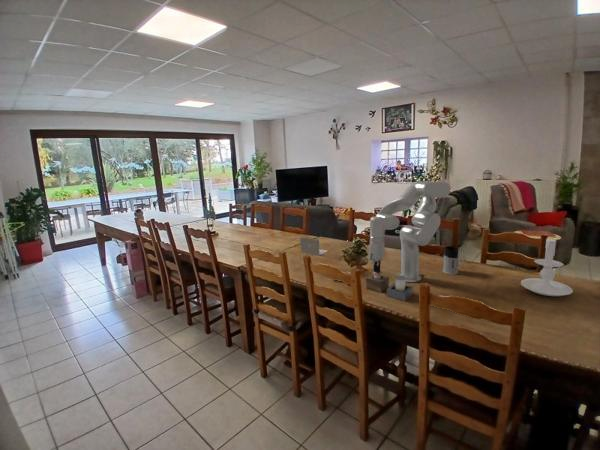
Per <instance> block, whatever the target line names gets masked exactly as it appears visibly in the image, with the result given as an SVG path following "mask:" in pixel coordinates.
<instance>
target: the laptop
mask: <svg viewBox="0 0 600 450" xmlns="http://www.w3.org/2000/svg"><path fill="white" fill-rule="evenodd" d="M299 240H300V242H299V244H300V252H301V253H302V254H303V253H304V254H309V255H313V256H322V255H323V254H326V253H328V252H329V250H325V249H320V241H319V240H320V239H319V238H311V237H304V236H299Z"/></svg>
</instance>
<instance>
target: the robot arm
mask: <svg viewBox="0 0 600 450" xmlns="http://www.w3.org/2000/svg"><path fill="white" fill-rule="evenodd" d="M451 190H452V189H451V185H450V184H449V183H448V182H446V181H445V182H444V181H432V180H430V181H429V180H428V181H419V180H416V181H414V182H412V183H410V184H409V186H408V187H407V188H406V189H405V190H404V192H403V193H402V194H401V195H400V196H399V197H398V198H396V199H395V200H393V201H391V202H388V204H386V205H384V206H383V207H382V208H381V209H380V210H379V211H378V213H377V214H376V215H375V216H374V215H373V216H371V217H370V219H369V246H368V258H367V259H368V261H371V262H370V264H372V265H373V272H378V273H379V272H380V271H381V265H382V264H381V263H382V260H383V258H384V257H385V231H386V230H389V231H390V230H396V229H397V228H398V227H400V219H399V217H397V216H396V215H394V214H396V213H400V212H405V211H407V210H410V209H412V207H413V206H414V205H415V204H416V203H417V202H418V200H419V199H420V198H422V201H421V203H420V205H419V207H418V208H417V210H416V211H415V212H414V214H413V216H412V217H411V223H412V225H404V226H402V227H401V229H400V231H399V238H400V244H401V245H400V247H401V248H400V249H401V250H400V251H401V252H400V253H401V257H400V259H401V260H400V261H401V262H400V273H399V274H398V275H401V276H404V277H405V283H417V282H419V281H421V280H422V276H421V275H419V271H420V268H419V260H420V259H419V258H420V257H419V255H420V249H419V246H420V247H421V246H422V247H424V246H426V245H428V244H429V243H430V242H431V240H432V239H433V237H434V235H435V234H436V233H437V231H438V229H439V227H440V225H441V220H442V219H441V217H440V215H439V213H436V212H435V211H436V209H437V201H436V199H441V198H447V196H449V195H450V193H451Z"/></svg>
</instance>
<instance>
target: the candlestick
mask: <svg viewBox="0 0 600 450" xmlns="http://www.w3.org/2000/svg"><path fill="white" fill-rule="evenodd" d="M545 240H546V241H545V247H544V248H545V255H544V258H537V259H534V260H533V261H534V263H536V264H537V265H540V266H543V268H542V269H541V270H540V272H539V275H540V278H537V277H533V278H525V279H522V280H521V281H520V285H521V286H522V287H523V288H526V289H527V290H529V291H530V292H533V293H535V294H537V295H542V296H546V297H547V296H548V297H563V296H567V295H572V293H574V291H573V288H572V287H571V286H569V285H567V284H565V283H563V282H559V281H556V280H555V276H556V269H557V268H561V267H563V266H564V265H565V264H564V263H562V262H561V261H558V260H554V256H555V253H556V244H557V240H555V239H553V238H552V239H551V238H546V239H545Z"/></svg>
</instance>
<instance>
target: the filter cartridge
mask: <svg viewBox="0 0 600 450" xmlns="http://www.w3.org/2000/svg"><path fill="white" fill-rule="evenodd" d="M394 283H395V290H398V291H402V292H404V291H405V285H406V282H405V277H404V276H401V275H399V274H397V275H395V277H394Z"/></svg>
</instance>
